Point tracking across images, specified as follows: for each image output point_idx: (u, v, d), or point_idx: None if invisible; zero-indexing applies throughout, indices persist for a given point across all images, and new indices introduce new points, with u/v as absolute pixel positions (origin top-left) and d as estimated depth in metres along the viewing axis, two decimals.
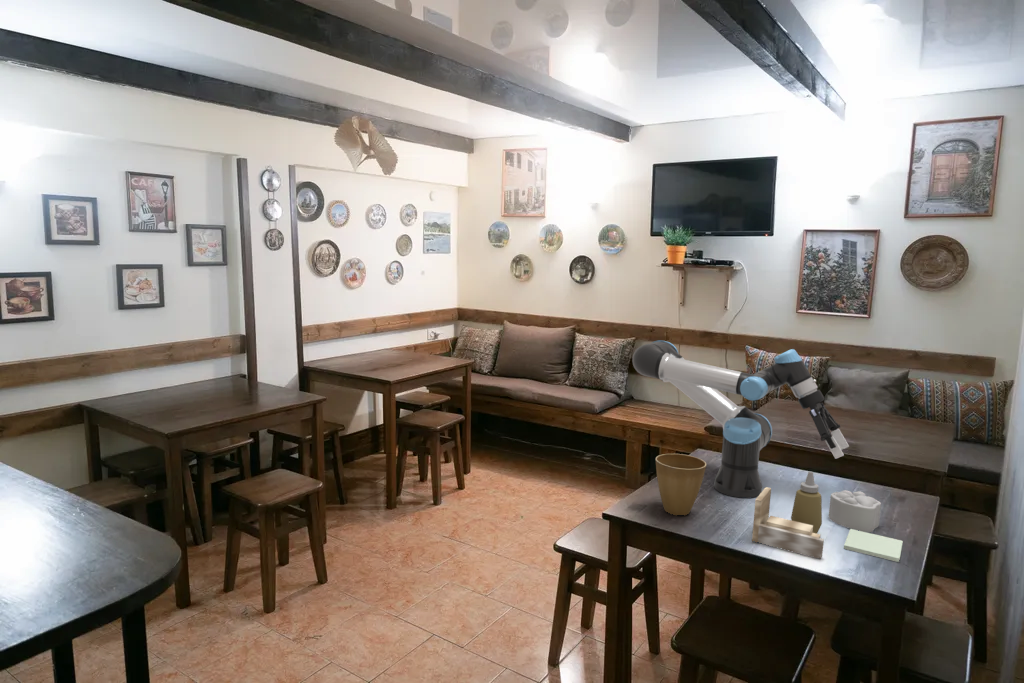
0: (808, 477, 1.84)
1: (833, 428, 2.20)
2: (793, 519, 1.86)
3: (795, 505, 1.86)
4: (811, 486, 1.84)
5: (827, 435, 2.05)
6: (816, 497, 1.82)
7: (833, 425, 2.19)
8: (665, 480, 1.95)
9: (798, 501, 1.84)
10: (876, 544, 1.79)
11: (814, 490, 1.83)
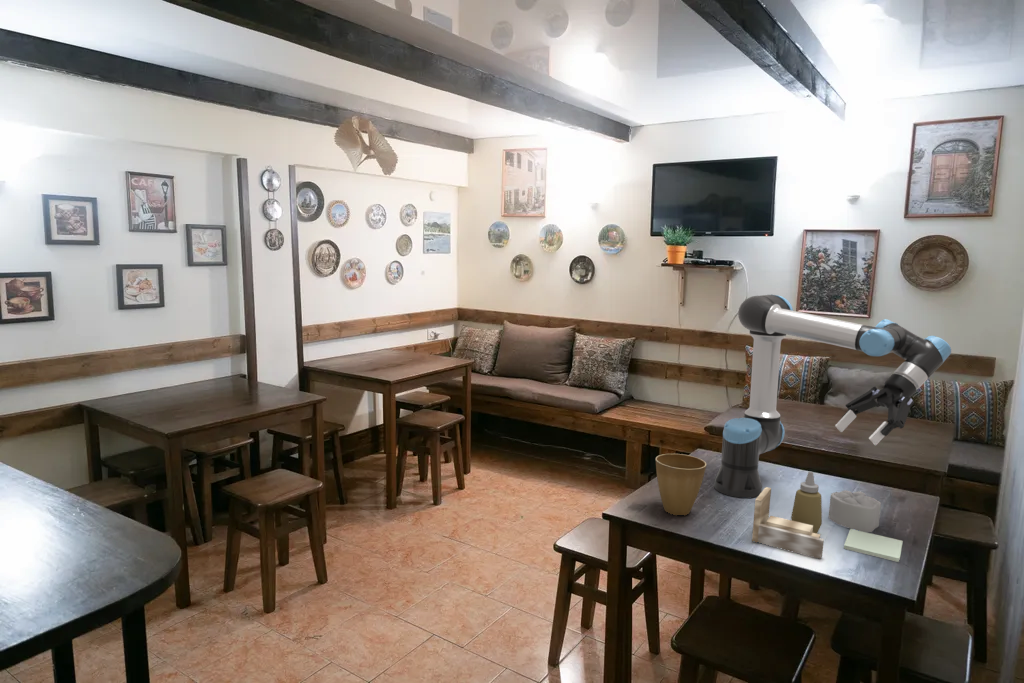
0: (808, 477, 1.84)
1: (853, 411, 1.93)
2: (793, 519, 1.86)
3: (795, 505, 1.86)
4: (811, 486, 1.84)
5: (902, 426, 1.77)
6: (816, 497, 1.82)
7: (859, 411, 1.93)
8: (665, 480, 1.95)
9: (798, 501, 1.84)
10: (876, 544, 1.79)
11: (814, 490, 1.83)
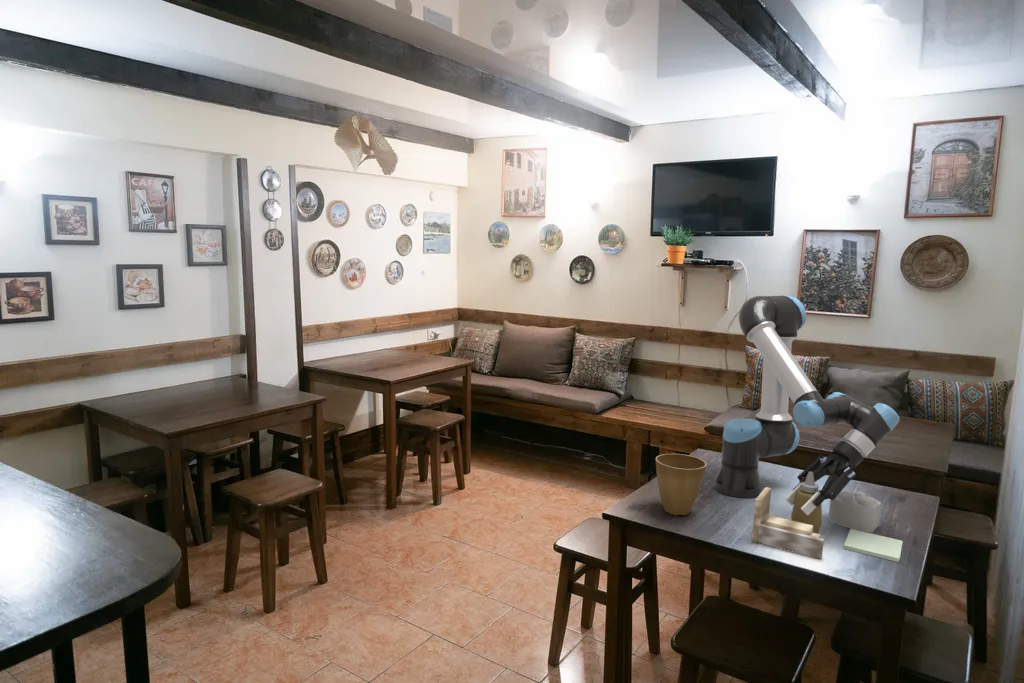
0: (808, 477, 1.84)
1: None
2: (793, 519, 1.86)
3: (795, 505, 1.86)
4: (811, 486, 1.84)
5: (833, 498, 1.79)
6: None
7: None
8: (665, 480, 1.95)
9: (798, 501, 1.84)
10: (876, 544, 1.79)
11: (814, 490, 1.83)
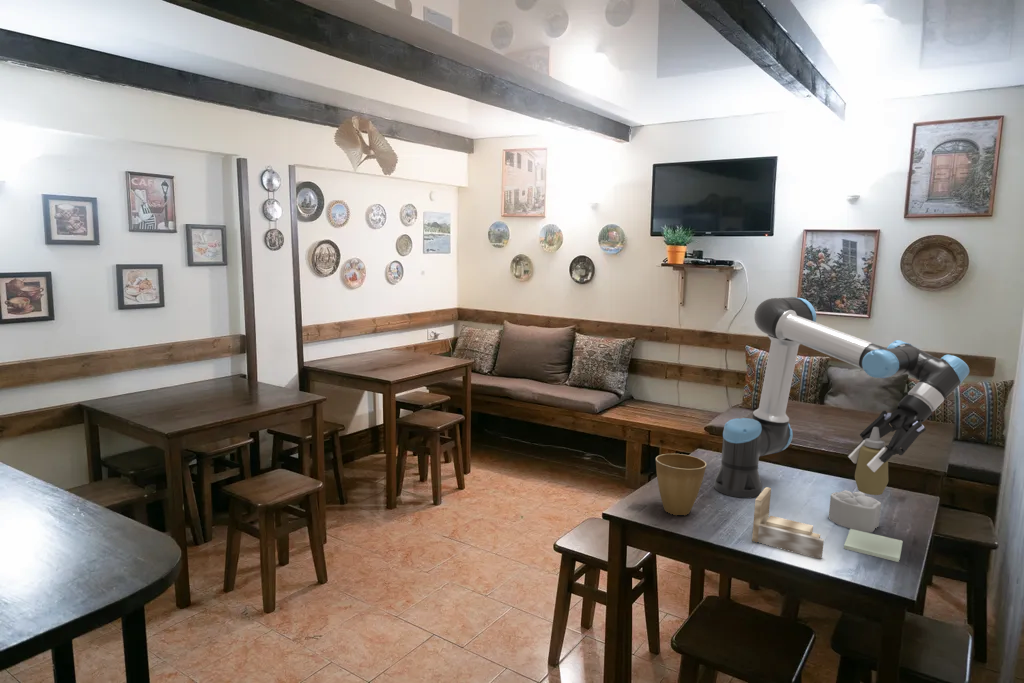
0: (873, 432, 1.75)
1: None
2: (857, 477, 1.77)
3: (859, 462, 1.77)
4: (876, 441, 1.74)
5: (902, 453, 1.70)
6: None
7: None
8: (665, 480, 1.95)
9: (863, 458, 1.75)
10: (876, 544, 1.79)
11: (880, 446, 1.74)
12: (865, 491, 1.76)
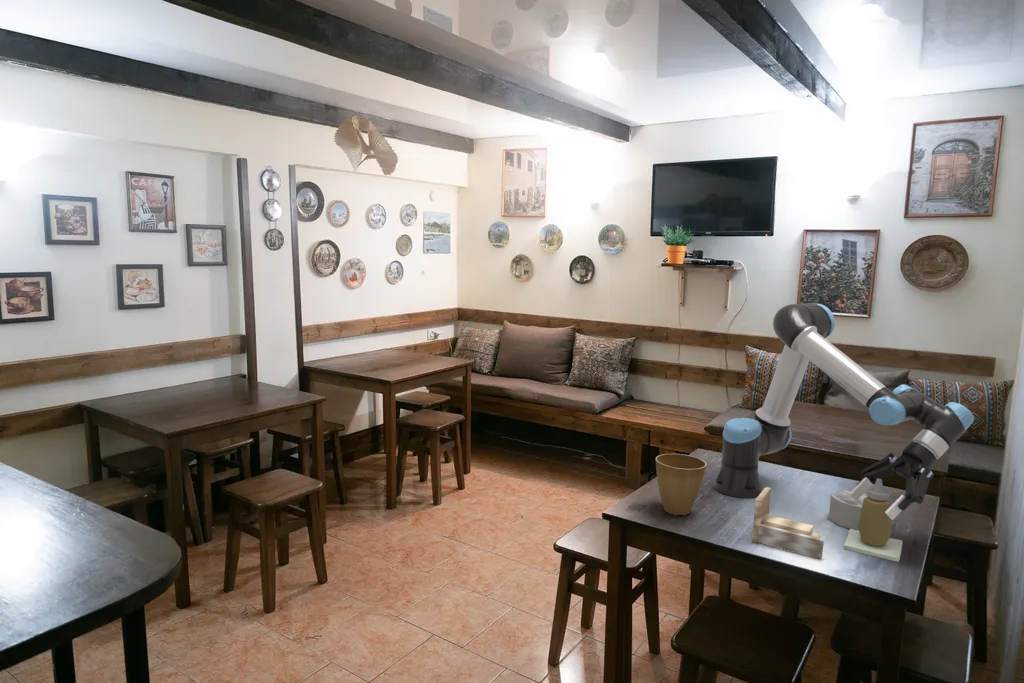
0: (877, 484, 1.77)
1: (869, 478, 1.84)
2: (861, 528, 1.78)
3: (863, 513, 1.78)
4: (880, 493, 1.76)
5: (920, 501, 1.68)
6: (886, 505, 1.75)
7: (875, 478, 1.84)
8: (665, 480, 1.95)
9: (867, 509, 1.77)
10: None
11: (884, 498, 1.75)
12: (869, 542, 1.77)
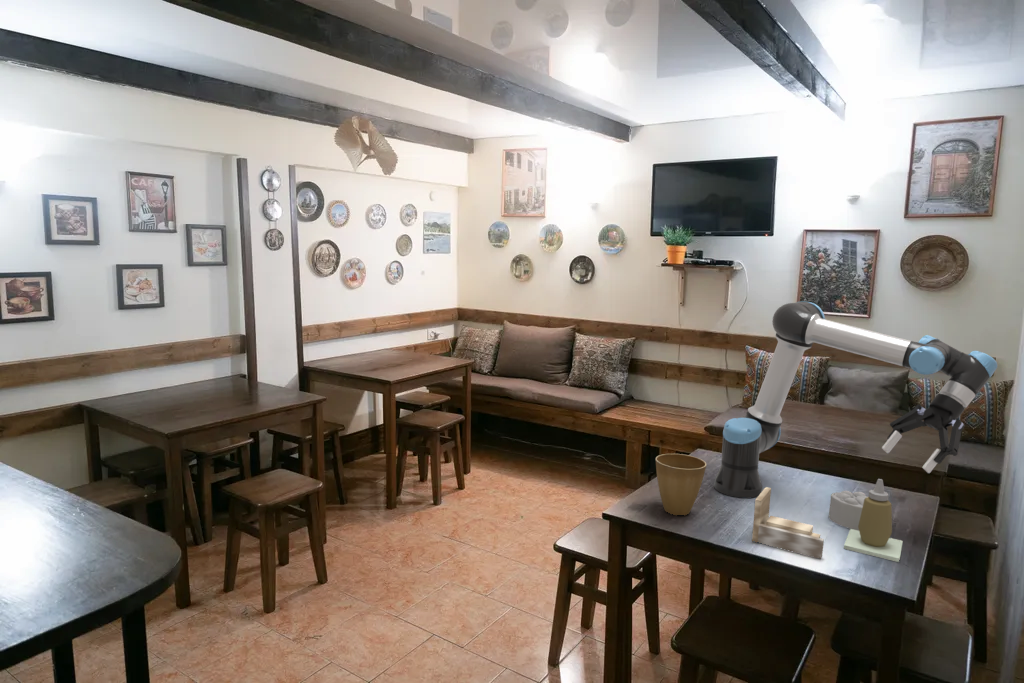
0: (878, 485, 1.77)
1: (899, 430, 1.91)
2: (861, 528, 1.78)
3: (863, 514, 1.78)
4: (880, 494, 1.76)
5: (956, 454, 1.75)
6: (886, 506, 1.75)
7: (905, 430, 1.90)
8: (665, 480, 1.95)
9: (867, 510, 1.77)
10: None
11: (884, 499, 1.75)
12: (869, 542, 1.77)
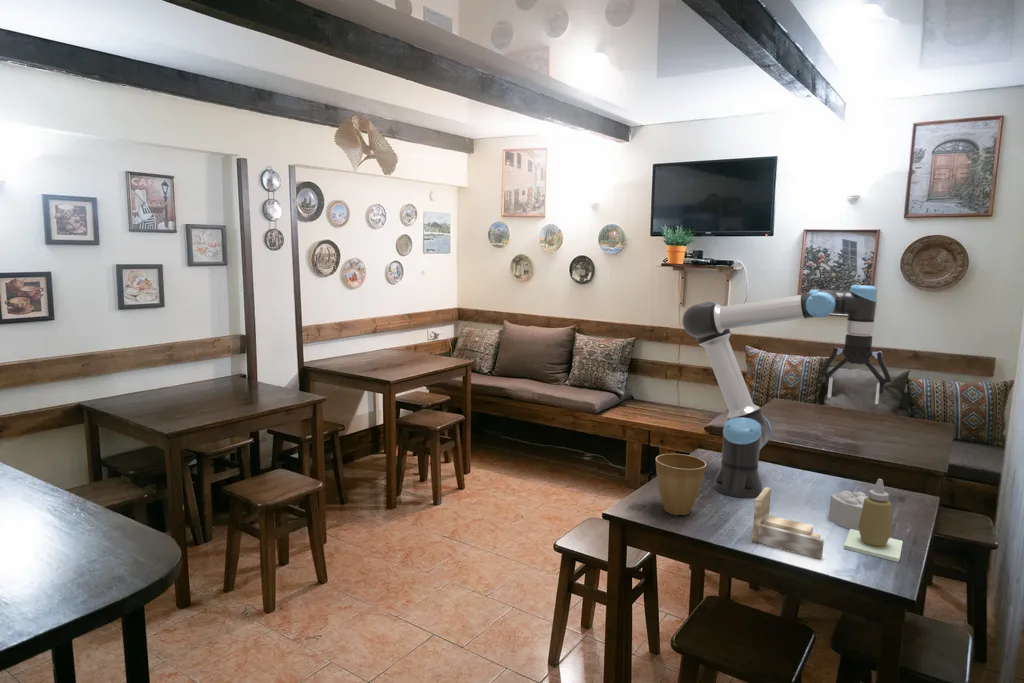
0: (878, 485, 1.77)
1: None
2: (861, 528, 1.78)
3: (863, 514, 1.78)
4: (880, 494, 1.76)
5: (891, 379, 2.04)
6: (886, 506, 1.75)
7: None
8: (665, 480, 1.95)
9: (867, 510, 1.77)
10: None
11: (884, 499, 1.75)
12: (869, 542, 1.77)
